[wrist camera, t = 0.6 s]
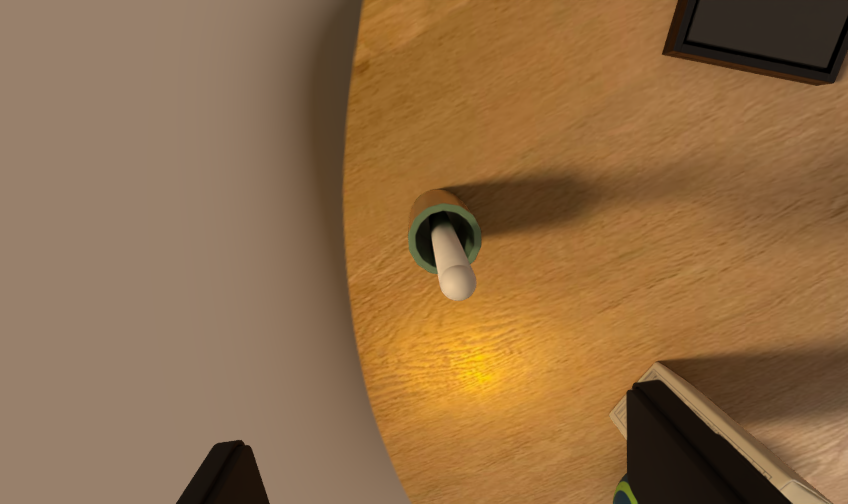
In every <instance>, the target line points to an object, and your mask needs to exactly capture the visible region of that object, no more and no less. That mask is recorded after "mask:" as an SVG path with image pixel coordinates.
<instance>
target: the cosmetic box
mask: <svg viewBox="0 0 848 504" xmlns="http://www.w3.org/2000/svg"><path fill="white" fill-rule="evenodd" d="M657 379H658V380H661V381H662V382H664V383H665V384H666V385H667V386H668V387H669V388H670V389H671V390H672V391H673V392H674V393H675V394H676V395H677V396H678V397H679V398H680V399H681V400H682V401H683V402H684V403H685V404H686V405H687V406H688V407H689V408H690V409H691V410H692V411H693V412H694V413H695V414H696V415H698V416H699V417H700V418H701V419H702V420H703V421H704V422H705V423H706V424H707V425H708V426H709V427H710V428H711V429H712V430H713V431H714V432H715V433H717V434H719V435H721V436H722V437H724V438H725V439H726V440H727V441H728V442H729V443H730V444H731V445H732V446H733V447H735V448H736V449H737V450H738V451H739V452H740V453H741V454H742V455H743V456H744V457H745V458H746V459H747V460H748V461H749V462H750V463H751V464H752V465H753V466H754V467H755V468H756V469H757V470H758V471H759V472H761V473H762V474H763V475H764V476H765V477H766V478H767V479H768V480H769V481H770V482H771V483H772V484H773V485H774V486H775V487H776V488H777V489H778V490H779V491H780V492H781V493H782V494H783V495H784V496H785V497H787V498H788V499H789V500H790V501H791V502H792V503H793V504H833V503H832V502H831V501H830V500H828V499H827V498H826V497H825V496H824V495H822V494H821V493H820V492H819V491H818V490H816V489H815V488H814V487H813V486H812V485H810V484H809V483H808V482H807V481H806V480H804V479H803V478H802V477H801V476H800V475H798V474H797V473H796V472H795V471H794V470H793V469H791V468H790V467H789V466H788V465H787V464H786V463H784V462H783V461H782V460H781V459H780V458H778V457H777V456H776V455H775V454H774V453H772V452H771V451H770V450H769V449H768V448H766V447H765V446H764V445H763V444H762V443H760V442H759V441H758V440H757V439H756V438H755V437H753V436H752V435H751V434H750V433H749V432H747V431H746V430H745V429H744V428H743V427H741V426H740V425H739V424H738V423H737V422H736V421H734V420H733V419H732V418H731V417H730V416H728V415H727V414H726V413H725V412H724V411H723V410H721V409H720V408H719V407H718V406H717V405H715V404H714V403H713V402H712V401H711V400H710V399H708V398H707V397H706V396H705V395H704V394H702V393H701V392H700V391H699V390H698V389H697V388H695V387H694V386H693V385H691V384H690V383H689V382H687V381H686V380H684V379H683V378H682V377H680V376H679V375H677V374H676V373H674V372H673V371H671V370H670V369H668V368H667V367H665V366H664V365H662V364H661V363H659V362H655V363H654V364H653V365H652V366H651V367H650V369H649V370H648V371H647V372H646V373H645V374H644V375H643V376H642V377H641V378H640V379H639V380H638V382H643V381H650V380H657ZM631 390H632V388H631ZM609 417H610V418H611V420H612V421H613V422H614V424H615V425H616V426H617V428H618V429H619V430H620V432H621V433H622V435H623V436H624V437H625V439H626V440H627V411H626V395H625V396H624V397H623V398H622V399H621V400H620V402H619V403H618V404H617V405H616V407H615V408H614V409H613V410H612V411H611V412H610V414H609Z"/></svg>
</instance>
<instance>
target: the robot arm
mask: <svg viewBox="0 0 848 504" xmlns="http://www.w3.org/2000/svg"><path fill="white" fill-rule="evenodd" d="M626 411H627V479H628V483H629V487H630V489H631V492H632V494H633V495H634V497H635V499H636V500H637V502H638V504H793V503H792V502H791V501H790V500H789V499H788V498H787V497H785V496H784V495H783V494H782V493H781V492H780V491H779V490H778V489H777V488H776V487H775V486H774V485H773V484H772V483H771V482H770V481H769V480H768V479H767V478H766V477H765V476H764V475H763V474H762V473H761V472H759V471H758V470H757V469H756V468H755V467H754V466H753V465H752V464H751V463H750V462H749V461H748V460H747V459H746V458H745V457H744V456H743V455H742V454H741V453H740V452H739V451H738V450H737V449H736V448H735V447H733V446H732V445H731V444H730V443H729V442H728V441H727V440H726V439H725V438H724V437H722V436H721V435H719V434H717V433H715V432H714V431H713V430H712V429H711V428H710V427H709V426H708V425H707V424H706V423H705V422H704V421H703V420H702V419H701V418H700V417H699V416H698V415H696V414H695V413H694V412H693V411H692V410H691V409H690V408H689V407H688V406H687V405H686V404H685V403H684V402H683V401H682V400H681V399H680V398H679V397H678V396H677V395H676V394H675V393H674V392H673V391H672V390H671V389H670V388H669V387H668V386H667V385H666V384H665V383H664V382H662V381H661V380H658V379H657V380H650V381H643V382H636V383H634V384H633V386H632V390H628V391H627V394H626ZM176 504H270V503H269V500H268V497H267V494H266V491H265V488H264V485H263V482H262V479H261V476H260V473H259V470H258V466H257V464H256V460H255V457H254V454H253V451H252V449H251V447H250V446H249V445H245V444H244V442H243V441H242V440H236V441H229V442H222V443H217V444H215V445H214V446H213V448H212V449H211V451H210V452H209V454H208V455H207V457H206V458H205V460H204V461H203V463H202V464H201V466H200V467H199V469H198V471H197V472H196V474H195V475H194V477H193V478H192V480H191V481H190V483H189V484H188V486H187V487H186V489H185V490H184V492H183V494H182V495H181V497H180V498H179V500H178V501H177V503H176Z"/></svg>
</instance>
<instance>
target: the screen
mask: <svg viewBox="0 0 848 504" xmlns="http://www.w3.org/2000/svg"><path fill="white" fill-rule="evenodd" d="M847 16H848V0H698V2H697V5H696V9H695V12H694V15H693V18H692V21H691V25H690V28H689V31H688V34H687V37H686V41H690V42H695V43H700V44H704V45H709V46H714V47H719V48H724V49H729V50H734V51H739V52H743V53H748V54H753V55H758V56H763V57H768V58H773V59H778V60H782V61H787V62H792V63H797V64H802V65H807V66H812V67H817V68H822V69H823V68H827V66H828V63H829V61H830V58H831V56H832V53H833V51H834V48H835V46H836V43H837V41H838V38H839V36H840V33H841V31H842V28H843V26H844V23H845V21H846V18H847Z"/></svg>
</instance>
